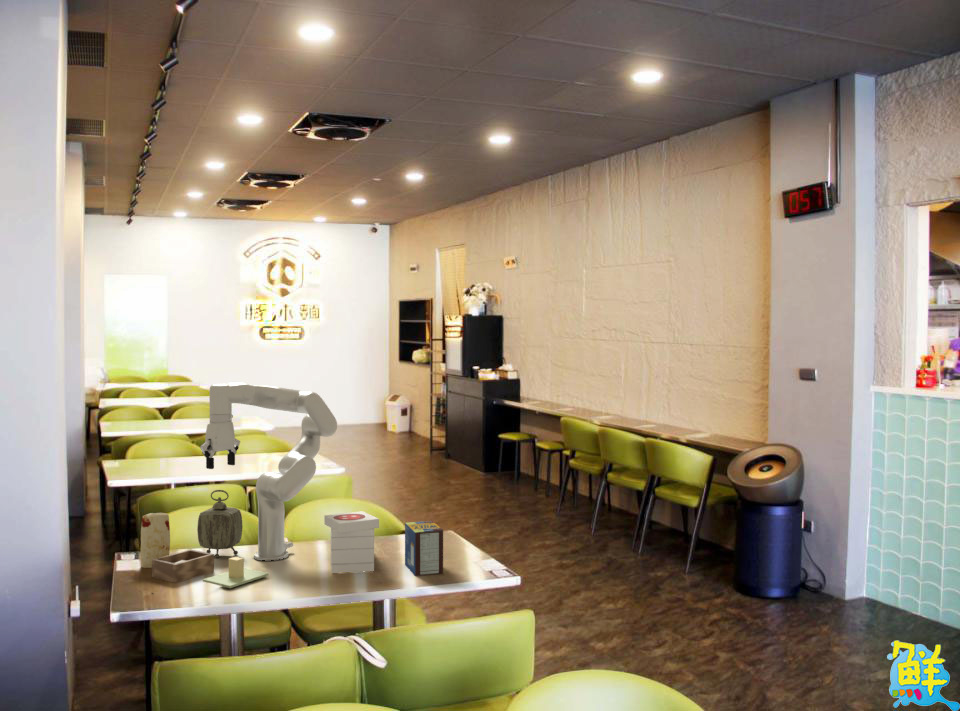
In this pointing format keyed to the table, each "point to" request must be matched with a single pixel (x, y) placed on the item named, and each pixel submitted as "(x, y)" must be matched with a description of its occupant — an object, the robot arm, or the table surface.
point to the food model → (154, 537)
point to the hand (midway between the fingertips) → (220, 466)
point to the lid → (236, 574)
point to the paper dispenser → (352, 541)
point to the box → (182, 566)
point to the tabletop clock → (220, 526)
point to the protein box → (424, 548)
